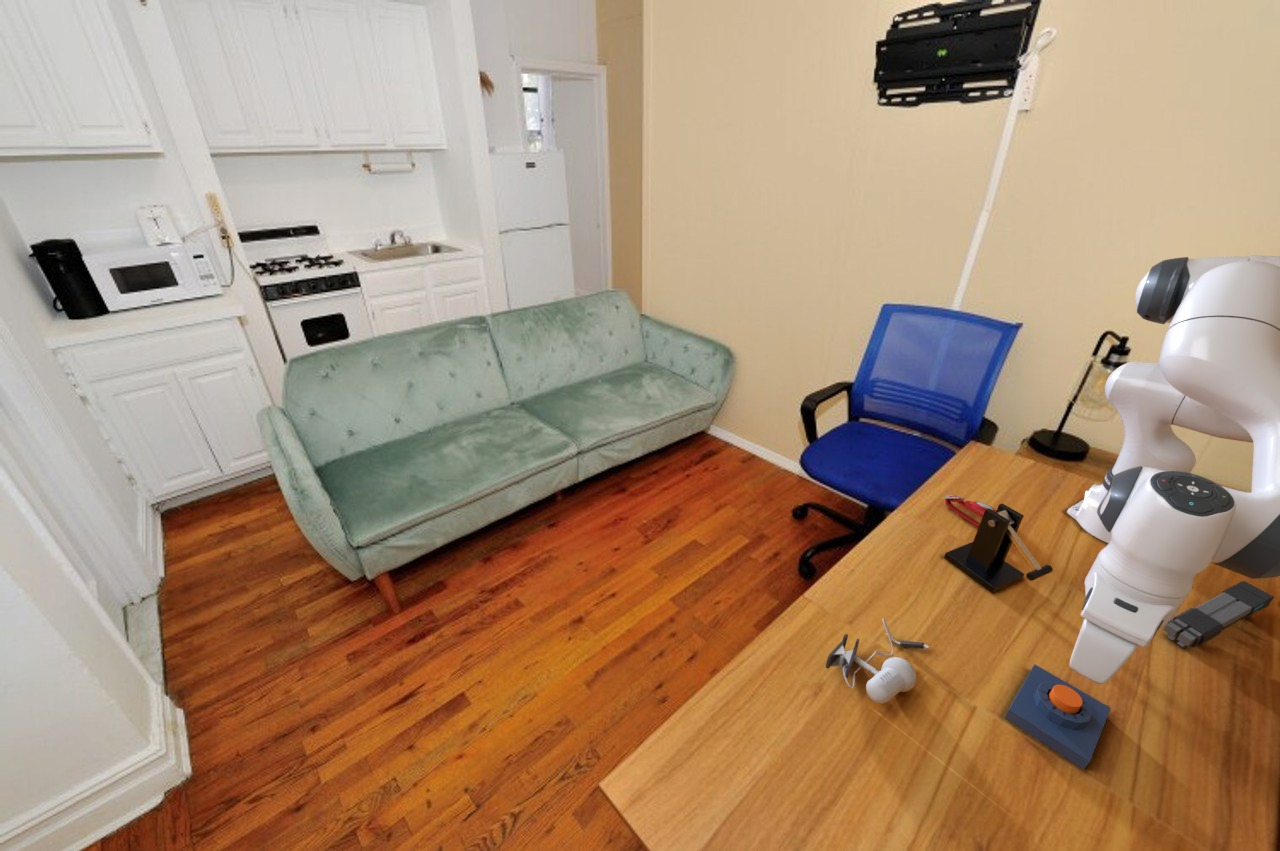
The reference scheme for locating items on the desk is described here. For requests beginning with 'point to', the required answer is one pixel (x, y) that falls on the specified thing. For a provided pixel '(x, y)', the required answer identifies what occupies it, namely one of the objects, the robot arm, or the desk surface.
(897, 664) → the clip-on lamp
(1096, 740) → the control block
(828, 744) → the desk surface
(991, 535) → the switch bracket
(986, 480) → the desk surface
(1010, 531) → the switch lever
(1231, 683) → the desk surface
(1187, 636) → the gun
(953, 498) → the tracker holder
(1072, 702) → the button
